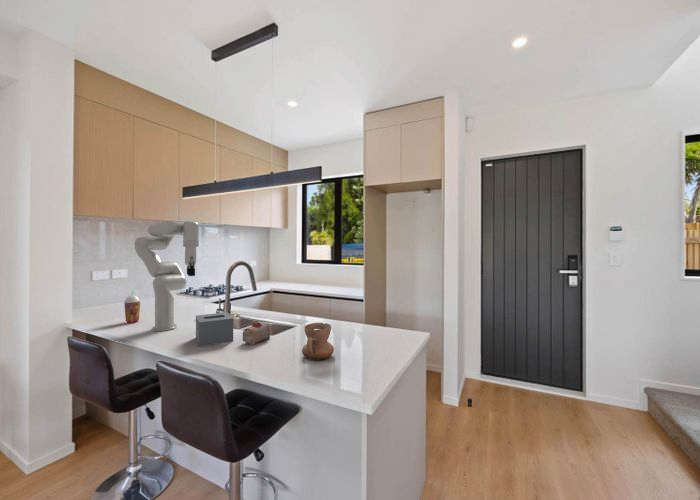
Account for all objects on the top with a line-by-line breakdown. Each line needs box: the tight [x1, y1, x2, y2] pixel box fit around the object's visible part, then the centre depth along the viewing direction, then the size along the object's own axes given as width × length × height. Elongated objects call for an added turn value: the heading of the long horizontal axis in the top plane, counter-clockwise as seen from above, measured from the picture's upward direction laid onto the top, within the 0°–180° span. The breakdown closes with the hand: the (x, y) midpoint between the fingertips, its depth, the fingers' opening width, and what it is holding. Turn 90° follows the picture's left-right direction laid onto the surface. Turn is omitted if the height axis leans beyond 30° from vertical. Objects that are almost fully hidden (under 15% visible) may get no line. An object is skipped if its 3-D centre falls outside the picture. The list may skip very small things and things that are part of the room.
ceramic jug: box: [301, 322, 335, 361], centre depth 136 cm, size 18×14×14 cm
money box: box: [195, 312, 234, 347], centre depth 159 cm, size 16×16×12 cm
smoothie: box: [123, 290, 141, 324], centre depth 190 cm, size 8×8×20 cm
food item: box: [242, 322, 271, 346], centre depth 157 cm, size 14×8×10 cm, turn 154°
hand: (190, 275), depth 165 cm, fingers open, 9 cm apart
